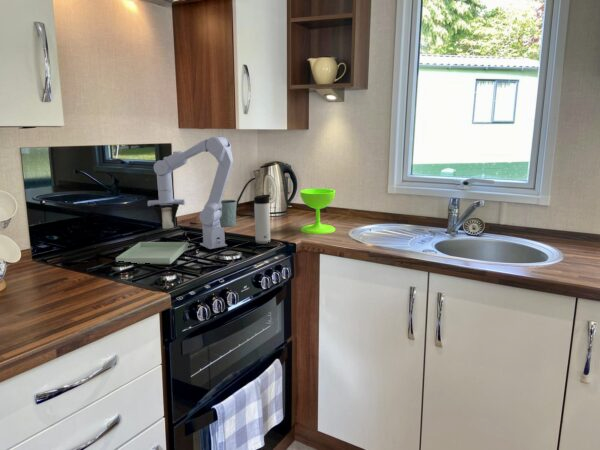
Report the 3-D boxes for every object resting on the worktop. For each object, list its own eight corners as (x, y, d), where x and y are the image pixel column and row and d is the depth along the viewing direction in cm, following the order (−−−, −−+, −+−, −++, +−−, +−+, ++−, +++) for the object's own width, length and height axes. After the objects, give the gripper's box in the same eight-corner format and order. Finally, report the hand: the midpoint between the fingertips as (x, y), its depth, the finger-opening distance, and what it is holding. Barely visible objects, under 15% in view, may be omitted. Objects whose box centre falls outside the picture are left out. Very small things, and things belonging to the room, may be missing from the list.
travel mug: (269, 244, 196) (267, 196, 192) (253, 243, 198) (251, 195, 193) (272, 240, 202) (271, 193, 198) (257, 239, 204) (256, 193, 199)
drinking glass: (212, 226, 229) (210, 202, 226) (224, 222, 237) (223, 198, 235) (229, 228, 224) (228, 203, 221) (241, 224, 233) (240, 200, 230)
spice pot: (175, 227, 198) (174, 208, 196) (164, 229, 195) (163, 210, 193) (171, 225, 201) (169, 207, 200) (160, 227, 199) (159, 208, 197)
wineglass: (341, 232, 215) (341, 192, 211) (308, 235, 210) (308, 195, 206) (326, 224, 230) (326, 187, 226) (295, 227, 224) (294, 189, 220)
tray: (140, 247, 194) (139, 242, 194) (188, 247, 193) (188, 242, 192) (116, 263, 173) (115, 257, 172) (170, 264, 171) (169, 258, 171)
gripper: (184, 187, 199) (186, 219, 202) (148, 188, 198) (151, 220, 201) (182, 190, 192) (184, 223, 195) (145, 191, 191) (148, 224, 194)
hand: (167, 222), depth 198 cm, fingers closed on spice pot, 4 cm apart
